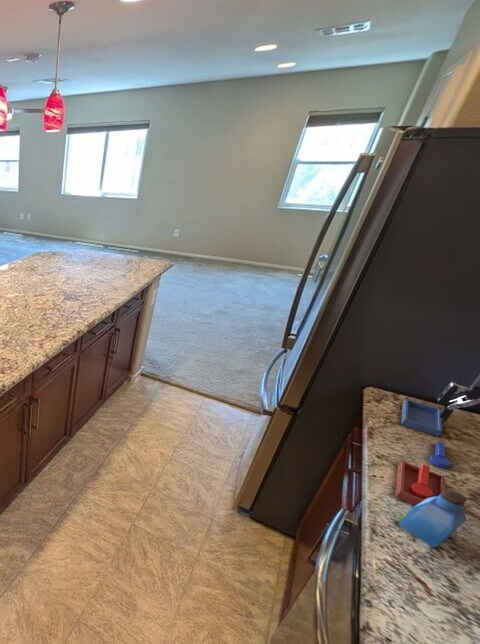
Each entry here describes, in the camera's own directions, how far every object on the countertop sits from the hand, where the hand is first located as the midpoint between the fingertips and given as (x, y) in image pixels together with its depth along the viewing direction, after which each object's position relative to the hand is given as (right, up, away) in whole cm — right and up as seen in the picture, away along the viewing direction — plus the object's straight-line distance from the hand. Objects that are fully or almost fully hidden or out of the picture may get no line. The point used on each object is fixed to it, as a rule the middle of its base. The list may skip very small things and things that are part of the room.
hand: (467, 426), depth 97 cm
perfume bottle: (-23, -22, -9) cm, 33 cm away
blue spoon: (+4, -10, +10) cm, 15 cm away
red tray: (-12, -16, 0) cm, 20 cm away
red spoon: (-11, -14, +1) cm, 18 cm away
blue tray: (+15, -2, +23) cm, 27 cm away
